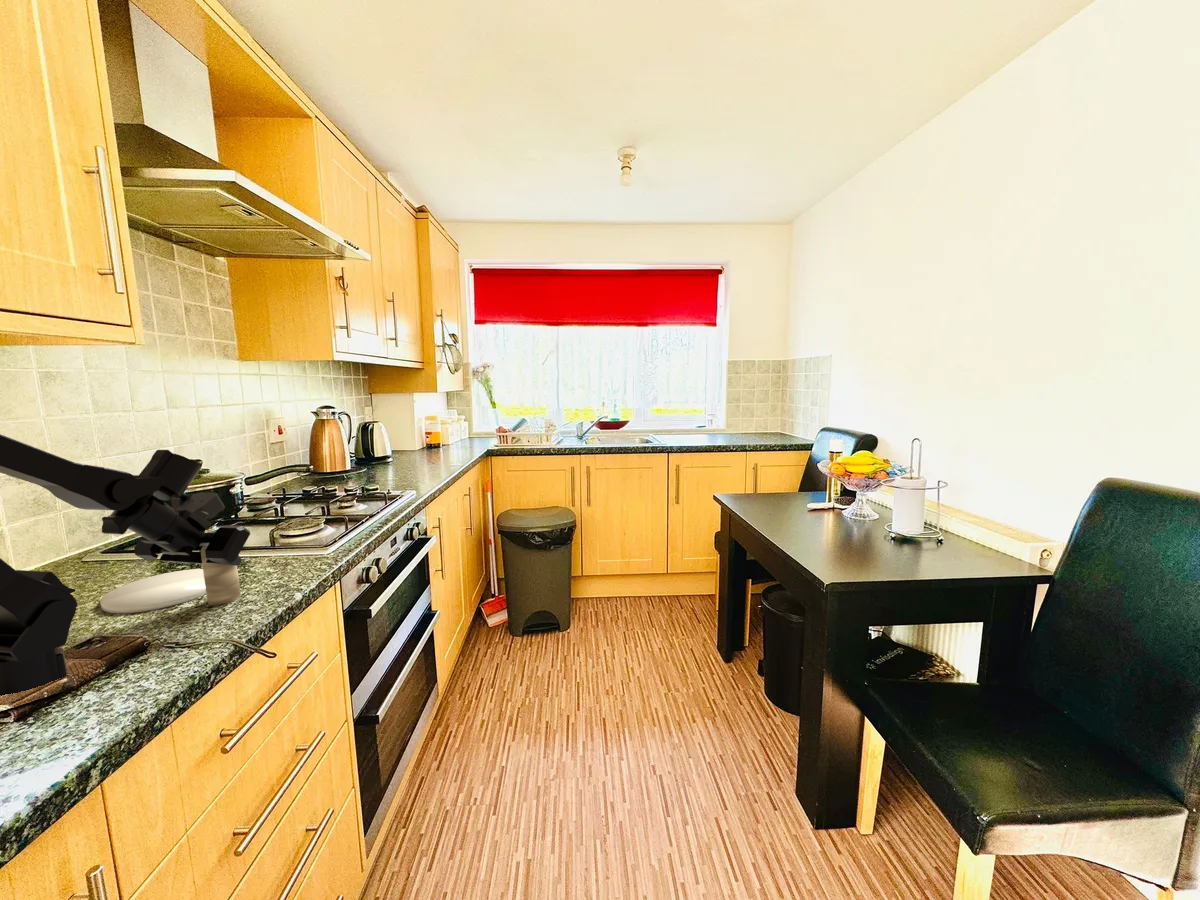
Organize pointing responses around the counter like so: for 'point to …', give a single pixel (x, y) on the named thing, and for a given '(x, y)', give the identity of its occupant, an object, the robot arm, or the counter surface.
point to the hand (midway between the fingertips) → (226, 562)
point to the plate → (155, 592)
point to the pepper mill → (220, 581)
